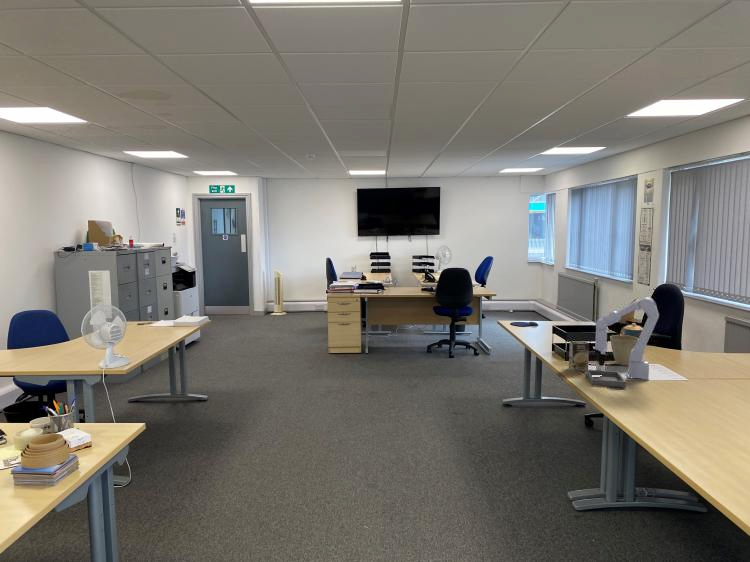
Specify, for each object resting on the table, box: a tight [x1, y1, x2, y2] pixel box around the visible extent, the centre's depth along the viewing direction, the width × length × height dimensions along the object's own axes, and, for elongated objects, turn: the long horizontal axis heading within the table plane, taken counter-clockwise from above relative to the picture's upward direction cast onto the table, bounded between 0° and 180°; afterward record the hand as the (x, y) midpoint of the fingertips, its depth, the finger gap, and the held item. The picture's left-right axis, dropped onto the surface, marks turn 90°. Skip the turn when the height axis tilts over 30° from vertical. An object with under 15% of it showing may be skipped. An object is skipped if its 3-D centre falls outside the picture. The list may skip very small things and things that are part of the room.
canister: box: [622, 322, 644, 339], centre depth 317 cm, size 13×13×18 cm
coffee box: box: [568, 340, 590, 372], centre depth 273 cm, size 9×6×16 cm
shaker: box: [595, 360, 606, 371], centre depth 268 cm, size 5×5×6 cm
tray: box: [586, 369, 627, 388], centre depth 253 cm, size 16×18×3 cm
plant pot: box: [609, 334, 638, 366], centre depth 283 cm, size 15×15×16 cm
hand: (600, 363), depth 268 cm, fingers open, 7 cm apart
